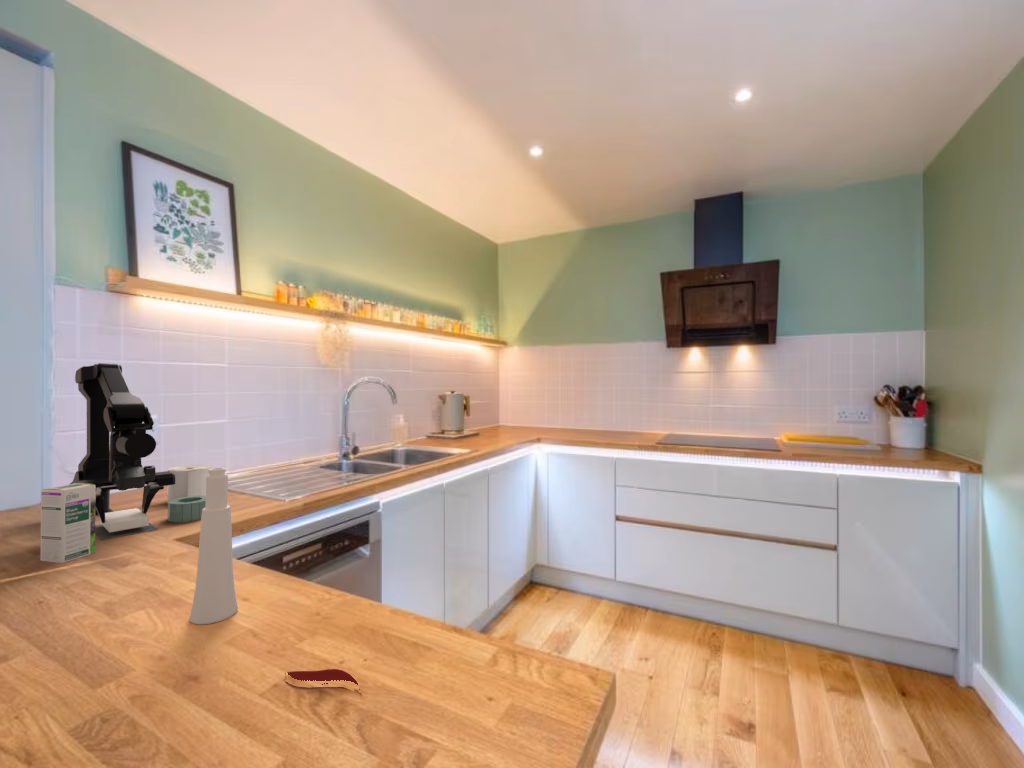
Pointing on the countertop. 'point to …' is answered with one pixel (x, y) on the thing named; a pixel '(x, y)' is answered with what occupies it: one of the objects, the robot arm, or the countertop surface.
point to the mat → (104, 534)
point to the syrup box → (67, 522)
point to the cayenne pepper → (322, 675)
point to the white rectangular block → (125, 520)
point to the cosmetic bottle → (215, 555)
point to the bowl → (186, 508)
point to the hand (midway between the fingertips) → (123, 519)
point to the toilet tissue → (188, 481)
